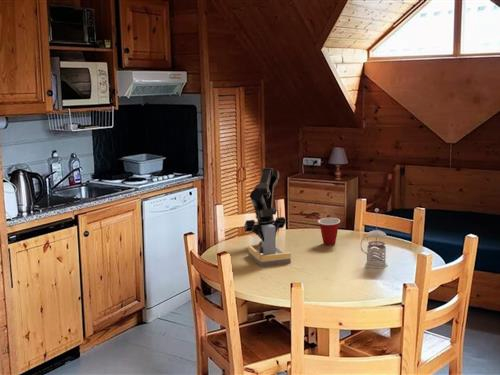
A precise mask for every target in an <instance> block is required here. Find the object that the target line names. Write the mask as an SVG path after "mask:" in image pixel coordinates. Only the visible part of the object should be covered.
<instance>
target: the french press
mask: <svg viewBox="0 0 500 375" xmlns="http://www.w3.org/2000/svg"><path fill="white" fill-rule="evenodd" d="M379 211H380V209H379V208H375V209H374V212H376V218H375V221H376V224H375V225H376V226H375V227H376V229H375V230H372V231H371V230H370V231H369V232H367V234H366V235H367V236H364V237H363V238H362V239H361V241H360V244H362V243H363V241H364V240H365V239H366V241H368V242H367V244H368V245H367V247H366V248H367V252H366V251H365V250H364V249H363V247H362V246H360V250H361V251H363V253H364V254H365V255H366V262H365V264H364V266H365V267H367V268H370V269H385V268H388V266H389V265H388V263H387V262H386V254H387V250H386V249H387V247H386V243H385V242H384V241H380V240H377V238H384V237H386V236H387V234H386V233H385V232H384V231H381V230H379V229H378V212H379ZM369 237H372V238H376V239H375V240H373V241H372V240H371V241H369V240H368V239H369Z"/></svg>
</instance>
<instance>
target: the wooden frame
mask: <svg viewBox="0 0 500 375" xmlns="http://www.w3.org/2000/svg"><path fill="white" fill-rule="evenodd" d="M248 256H249V257H250V258H251V259H252V260H253V261H254V262H255V261H256V262H257V263H258V264H257V265H258V266H259V267H265V266H266V267H267V266H268V265H269V266H275V265H284V264H291V263H292V261H291V260H292V259H291V257H292V256H291V252H290V251H287V252H283V251H282V250H280V249H279V248H278V247H276V254H271V255H263V254H262V253H261V254H260V253H259V249H255V248H254V247H253V246H252V245H248ZM256 262H255V263H256ZM269 266H268V267H269Z"/></svg>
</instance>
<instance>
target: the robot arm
mask: <svg viewBox="0 0 500 375" xmlns="http://www.w3.org/2000/svg"><path fill="white" fill-rule="evenodd" d="M279 179H280V172H279V170H277V169H274V168H272V167H263V168H262V170H261V177H260V179H259V182H258V184H256V185H255V187H254V189H253V190H252V191H251V192H250V194H249V198H250V200H251V204H252V205H253V210H254V214H255V219H256V220H257V221H255V220H254V219H250V220H249V219H248V220H245V223H244V225H243V231H244V232H251V233H254V234H255V235H257V237H258V238H259V239H260V240H261V241H259V244H261V245H262V241H264V236H263V234H262V231H261V225H269V224H272V225H274V226H275V235H276V236H277V232H278V229H283V228H284V227H285V225H286V223H287V220H286V218H285V217H284V216H280V217H279V216H278V217H276V218H274V215H276V214H277V209H276V207H275V206H273V203H274V190H275V187H276V186H277V185H278V182H279Z"/></svg>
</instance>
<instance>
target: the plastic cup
mask: <svg viewBox="0 0 500 375" xmlns="http://www.w3.org/2000/svg"><path fill="white" fill-rule="evenodd" d="M317 223H318V224H319V228H320V233H321V238H322V243H323V245H325V246H334V245H336V242H337V237H338V229H339V225H340V223H341V220H340V219H339V218H336V217H324V218H319V219H318V220H317Z"/></svg>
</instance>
